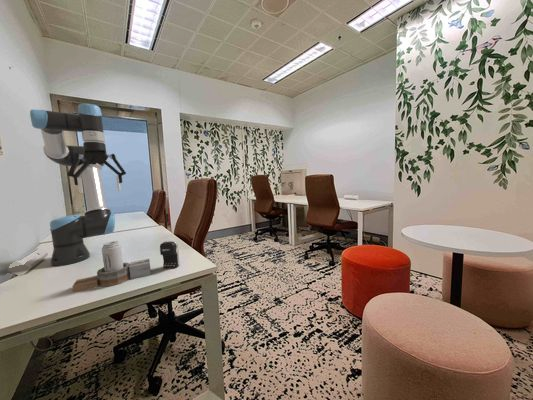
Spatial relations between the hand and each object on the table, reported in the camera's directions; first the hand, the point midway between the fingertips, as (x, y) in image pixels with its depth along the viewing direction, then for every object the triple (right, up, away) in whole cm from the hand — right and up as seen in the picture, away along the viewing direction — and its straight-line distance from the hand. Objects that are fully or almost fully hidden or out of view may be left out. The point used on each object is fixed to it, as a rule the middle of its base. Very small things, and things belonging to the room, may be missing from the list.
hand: (100, 191), depth 96 cm
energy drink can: (+14, -35, -10) cm, 39 cm away
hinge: (+14, -35, -10) cm, 39 cm away
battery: (+31, -33, -1) cm, 46 cm away
